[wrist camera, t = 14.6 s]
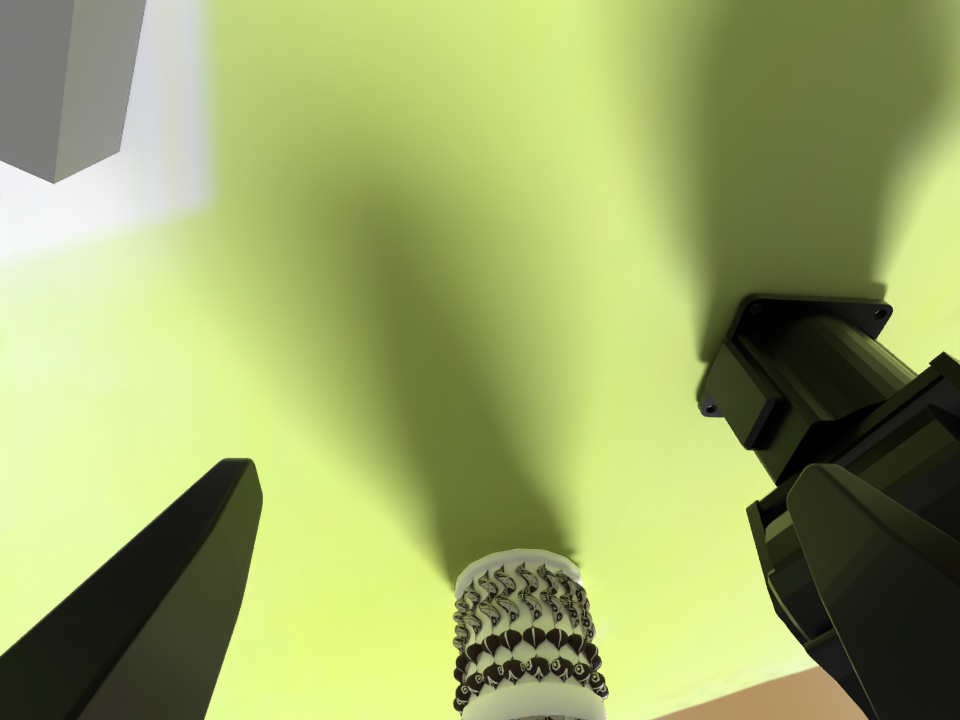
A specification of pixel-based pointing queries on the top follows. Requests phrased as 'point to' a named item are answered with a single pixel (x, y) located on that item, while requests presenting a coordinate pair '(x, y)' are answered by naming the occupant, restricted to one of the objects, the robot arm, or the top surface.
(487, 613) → the decorative candle
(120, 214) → the top surface
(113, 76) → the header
